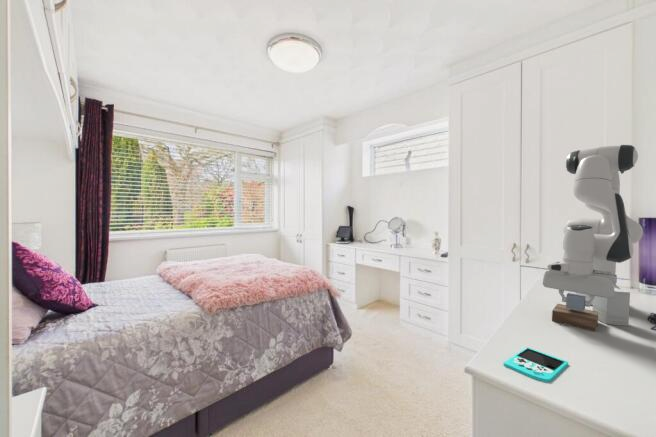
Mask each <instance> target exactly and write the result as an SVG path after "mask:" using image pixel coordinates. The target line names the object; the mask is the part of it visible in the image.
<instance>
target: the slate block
mask: <svg viewBox="0 0 656 437" xmlns="http://www.w3.org/2000/svg"><path fill="white" fill-rule="evenodd" d="M565 297H566V302H565V305H566V308H569V309H574V310H578V311H583V312H584V310H585V309H586V306H584V304H585V301H586V295H580V294H575V292H570V291H567V294H566V295H565Z"/></svg>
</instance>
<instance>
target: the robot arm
mask: <svg viewBox="0 0 656 437" xmlns="http://www.w3.org/2000/svg"><path fill="white" fill-rule="evenodd" d="M638 159H639V154H638V151H637V149H636V147H635V146H634V145H632V144H620V145H609V146H608V145H606V146H598V147H593V148H588V149H583V150H582V149H581V150H575V151H571V152H570V153H569V154H568V155H567V156H566V159H565V162H564V163H565V169H566V171H567V172H568V173H570V174H571V175H572V174H573V175H574V180H573V195H574V197H575V198H576V199H577V200H579V201H580V202H581V203H583V204H584V206H586V207H587V208H588V209H589V210H591V211H594V212H595V213H596V212H597V213H599V214H600V215H601V216H602V218H587V217H586V218H583V217H582V218H574V219H569V220H568V221H567V222H565V223H564V225H563V234H564V237H563V243H562V244H563V245H562V248H563V251H564V253H563V256H562V261H556V262H550V263H548V264H547V270H546V271H545V272H544V274H543V278H542V286H543V287H544V288H548V289H554V290H558V293H559V295H560V296H561V302H563V303H566V295H565V294H564V293H565V292H569V293H575V294H580V295H586V301H585V304H584V306H585V307H588V308H590V307H591V306H593V300H594V298H595V296H598V297H604V298H610V299H611V298H613V297H614V296H615V291H614V287H615V288H618V289H621V288H620V287H619V286H618V285H617V282H618V276H617V274H616V271H617V269H616V268H617V264H621V263H623V262H626V261H628V260H630V259H632V256H633V255H634V244H636V243H638V242H639V241H640V240H641V239H642V238H643V236H644V229H643V227H642V225H641V224H640V223H639V222H637V221H636V220H634V219H632V218H631V217H630V216H628V215H627V214H626V213H627V212H626V207H625V203H624V199H623V197H622V195H621V194H620V192H621V190H620V188H621V187H620V186H621V183H620V182H621V181H620V179H621V178H620V174H621V175H622V174H624V173H625V172H626V171H629V170H631V169H632V168H634V167H635V165H636V163H637V161H638Z"/></svg>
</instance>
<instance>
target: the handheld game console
mask: <svg viewBox="0 0 656 437" xmlns="http://www.w3.org/2000/svg"><path fill="white" fill-rule="evenodd" d="M502 366H504V367H507V368H509V369H511V370H513V371H514V372H515V371H516V372H518V373H520V374H523V375H525V376H527V377H530V378H532V379H535V380H537V381H541V382H546V383H549V382H552V380H553V379H555V378H556V377H557V376H558V375H559V374H560V373H561V372H562V371H563V370H564V369H565V368H566V367H567V366H569V362H568V360H565V359H561V358H558V357H555V356H554V355H550V354H548V353H545V352H543V351H540V350H536V349H534V348H532V347H528V346H527V347H525V348H523V349H521V351H519V352H518V353H516V354H514V355H513V356H512V357H510V358H508V359H506V360H505V361H504V362H503V365H502Z"/></svg>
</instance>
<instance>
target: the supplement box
mask: <svg viewBox="0 0 656 437" xmlns="http://www.w3.org/2000/svg"><path fill="white" fill-rule="evenodd" d="M614 291H615V296H614V297H613V298H611V299H610V298H604V297H598V296H595V298H594V300H593V305H592V311H596V312H598V322H599V321H600V322H602V323H604V324H606V325H614V326H615V325H616V326H623V327H624V326H625V327H628V326H629V324H630V321H629V320H630V303H631V300H630V299H631V292H630V291H627V290H623V289H621V288H620V289H618V288H615V287H614Z"/></svg>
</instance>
